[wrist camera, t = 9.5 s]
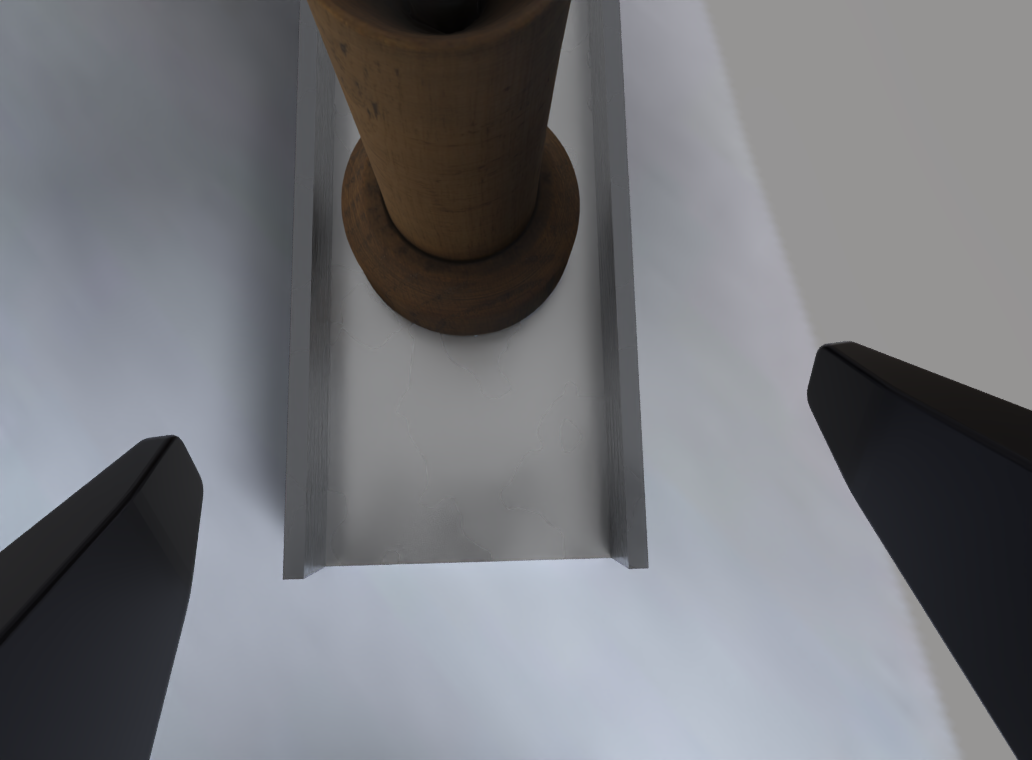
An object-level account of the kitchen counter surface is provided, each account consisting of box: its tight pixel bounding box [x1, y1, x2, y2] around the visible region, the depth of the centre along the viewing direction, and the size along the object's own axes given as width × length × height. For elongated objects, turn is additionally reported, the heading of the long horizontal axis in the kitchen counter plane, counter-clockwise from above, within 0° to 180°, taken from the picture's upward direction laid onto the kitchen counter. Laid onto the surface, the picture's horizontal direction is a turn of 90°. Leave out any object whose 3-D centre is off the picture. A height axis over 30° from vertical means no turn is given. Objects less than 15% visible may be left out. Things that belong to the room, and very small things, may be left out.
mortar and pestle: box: [307, 0, 580, 336], centre depth 11 cm, size 7×6×18 cm
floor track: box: [283, 0, 648, 580], centre depth 19 cm, size 20×9×3 cm, turn 1°
